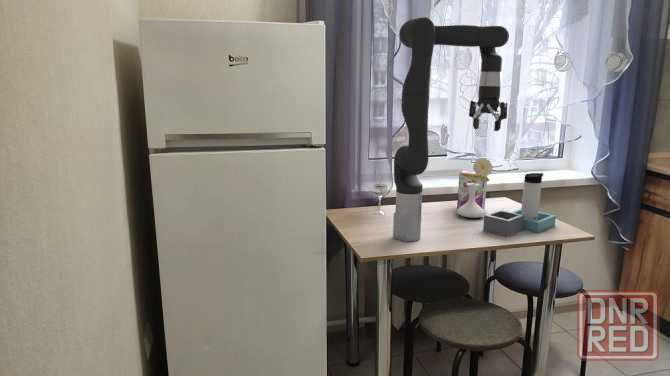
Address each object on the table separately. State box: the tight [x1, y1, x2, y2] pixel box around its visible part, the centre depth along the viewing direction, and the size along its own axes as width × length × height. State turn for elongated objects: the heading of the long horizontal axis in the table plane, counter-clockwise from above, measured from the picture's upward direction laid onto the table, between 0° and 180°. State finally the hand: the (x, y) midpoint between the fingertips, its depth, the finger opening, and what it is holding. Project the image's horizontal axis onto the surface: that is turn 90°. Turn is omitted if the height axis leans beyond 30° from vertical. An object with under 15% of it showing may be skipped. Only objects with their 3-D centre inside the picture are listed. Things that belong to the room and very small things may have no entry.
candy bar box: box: [456, 170, 488, 211], centre depth 204 cm, size 11×5×16 cm, turn 58°
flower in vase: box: [456, 157, 494, 219], centre depth 192 cm, size 13×11×25 cm
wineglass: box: [371, 183, 389, 215], centre depth 199 cm, size 7×7×12 cm
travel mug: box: [520, 172, 544, 221], centre depth 181 cm, size 6×7×20 cm
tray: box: [511, 208, 557, 234], centre depth 184 cm, size 14×14×4 cm
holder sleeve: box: [482, 209, 524, 237], centre depth 177 cm, size 11×10×6 cm
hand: (486, 129), depth 172 cm, fingers open, 8 cm apart
